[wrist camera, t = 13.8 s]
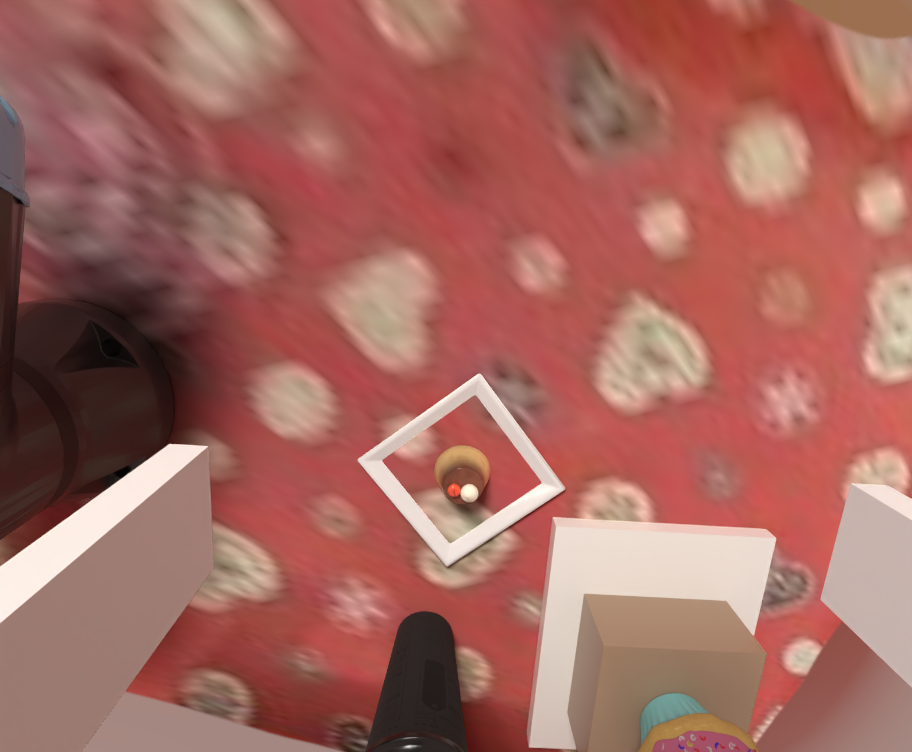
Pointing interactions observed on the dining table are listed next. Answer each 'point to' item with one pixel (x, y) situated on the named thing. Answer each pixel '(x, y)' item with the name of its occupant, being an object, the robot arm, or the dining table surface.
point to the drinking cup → (420, 691)
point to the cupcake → (688, 728)
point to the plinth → (633, 575)
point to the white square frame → (462, 473)
